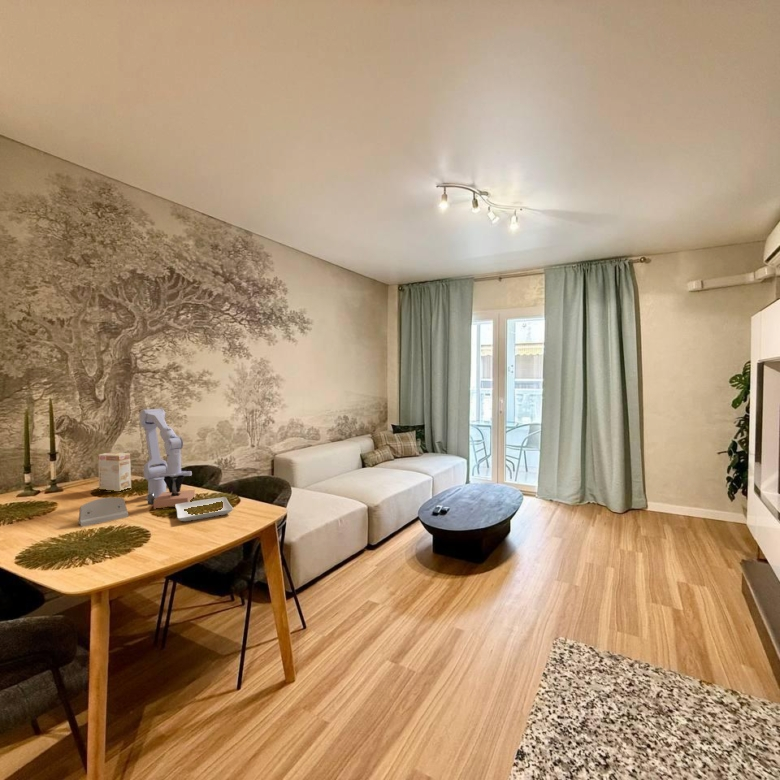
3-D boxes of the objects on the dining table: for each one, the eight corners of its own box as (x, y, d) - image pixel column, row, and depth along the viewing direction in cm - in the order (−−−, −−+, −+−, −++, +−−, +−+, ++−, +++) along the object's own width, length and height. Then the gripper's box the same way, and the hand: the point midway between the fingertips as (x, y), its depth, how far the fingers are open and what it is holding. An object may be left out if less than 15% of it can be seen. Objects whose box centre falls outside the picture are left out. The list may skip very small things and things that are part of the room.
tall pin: (172, 497, 187) (172, 478, 187) (179, 497, 188) (178, 478, 188) (170, 499, 184) (170, 480, 184) (177, 498, 185) (176, 479, 185)
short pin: (148, 502, 187) (148, 493, 187) (155, 502, 188) (155, 493, 188) (146, 504, 185) (146, 495, 184) (153, 504, 185) (153, 494, 185)
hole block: (163, 500, 191) (162, 492, 191) (194, 497, 195) (194, 489, 195) (153, 509, 178) (153, 500, 177) (187, 506, 181) (187, 497, 181)
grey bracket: (80, 527, 156) (78, 502, 158) (78, 528, 159) (76, 503, 162) (129, 516, 168) (126, 493, 170) (127, 517, 171) (124, 494, 174)
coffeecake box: (131, 489, 212) (130, 453, 212) (119, 492, 206) (118, 455, 205) (111, 487, 217) (110, 451, 217) (98, 490, 210) (97, 454, 210)
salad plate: (234, 515, 168) (233, 508, 168) (177, 526, 157) (177, 517, 157) (225, 503, 186) (225, 496, 186) (174, 511, 175) (174, 504, 175)
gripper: (154, 466, 180) (154, 495, 180) (188, 463, 184) (189, 492, 184) (159, 463, 187) (159, 491, 187) (192, 461, 190) (193, 488, 191)
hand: (174, 491), depth 186 cm, fingers closed on tall pin, 3 cm apart
